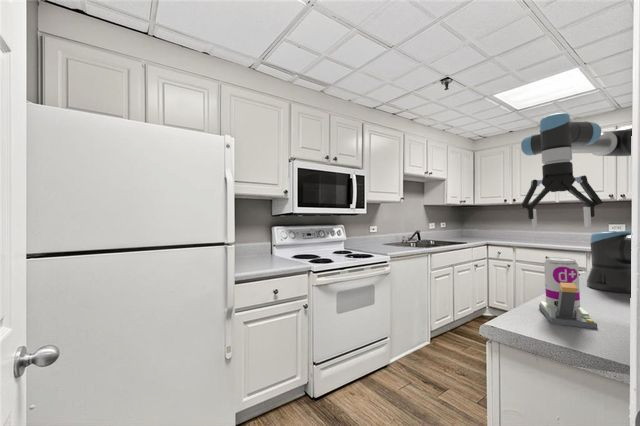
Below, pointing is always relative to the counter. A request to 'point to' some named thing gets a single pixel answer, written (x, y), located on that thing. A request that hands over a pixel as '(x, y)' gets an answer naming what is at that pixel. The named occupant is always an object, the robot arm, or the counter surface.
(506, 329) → the counter surface
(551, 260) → the supplement can
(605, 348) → the counter surface
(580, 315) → the panel
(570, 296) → the breaker lever
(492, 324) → the counter surface
